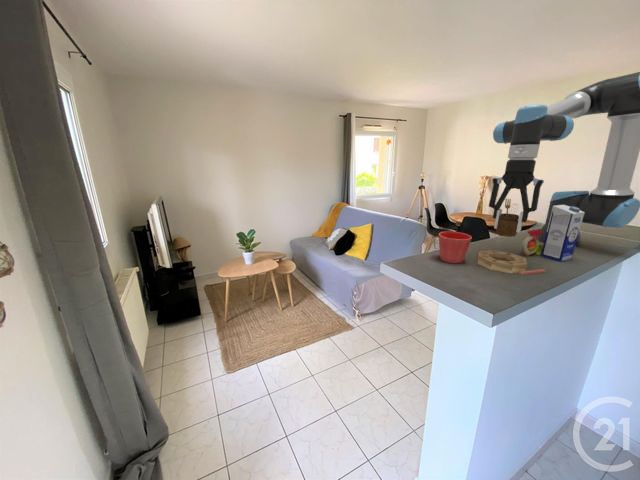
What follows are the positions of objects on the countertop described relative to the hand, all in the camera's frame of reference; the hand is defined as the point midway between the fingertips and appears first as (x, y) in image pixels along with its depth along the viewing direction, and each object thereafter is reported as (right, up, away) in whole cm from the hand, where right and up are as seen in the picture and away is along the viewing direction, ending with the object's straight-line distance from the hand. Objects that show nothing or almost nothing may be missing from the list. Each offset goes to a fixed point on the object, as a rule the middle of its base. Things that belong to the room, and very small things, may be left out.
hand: (507, 229), depth 91 cm
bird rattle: (+19, -10, +14) cm, 26 cm away
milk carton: (+26, -11, +11) cm, 30 cm away
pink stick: (+6, -15, -3) cm, 16 cm away
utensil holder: (0, -2, +1) cm, 2 cm away
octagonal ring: (0, -13, +4) cm, 13 cm away
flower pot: (-15, -11, +9) cm, 21 cm away
